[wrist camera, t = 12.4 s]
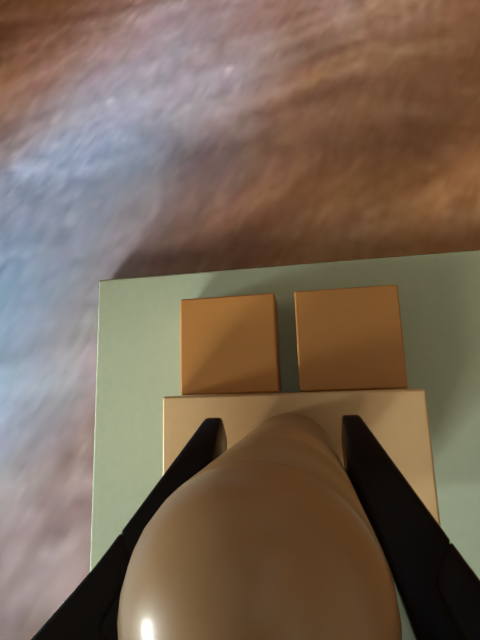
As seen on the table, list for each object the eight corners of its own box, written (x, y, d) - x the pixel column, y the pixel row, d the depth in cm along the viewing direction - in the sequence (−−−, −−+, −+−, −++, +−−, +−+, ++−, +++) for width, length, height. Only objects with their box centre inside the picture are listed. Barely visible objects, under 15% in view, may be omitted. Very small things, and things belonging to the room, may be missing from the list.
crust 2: (399, 388, 16) (408, 388, 15) (300, 391, 17) (299, 391, 15) (389, 293, 17) (397, 283, 15) (294, 299, 17) (294, 291, 16)
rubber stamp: (404, 388, 16) (885, 387, 3) (416, 506, 15) (1184, 1334, 2) (186, 395, 17) (-205, 416, 4) (187, 503, 16) (-292, 960, 3)
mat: (574, 804, 14) (591, 829, 13) (93, 747, 16) (82, 765, 16) (492, 254, 17) (500, 247, 16) (107, 284, 20) (98, 279, 19)
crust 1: (281, 391, 17) (278, 392, 15) (191, 394, 18) (180, 395, 16) (276, 300, 18) (274, 292, 16) (190, 306, 18) (179, 298, 17)
